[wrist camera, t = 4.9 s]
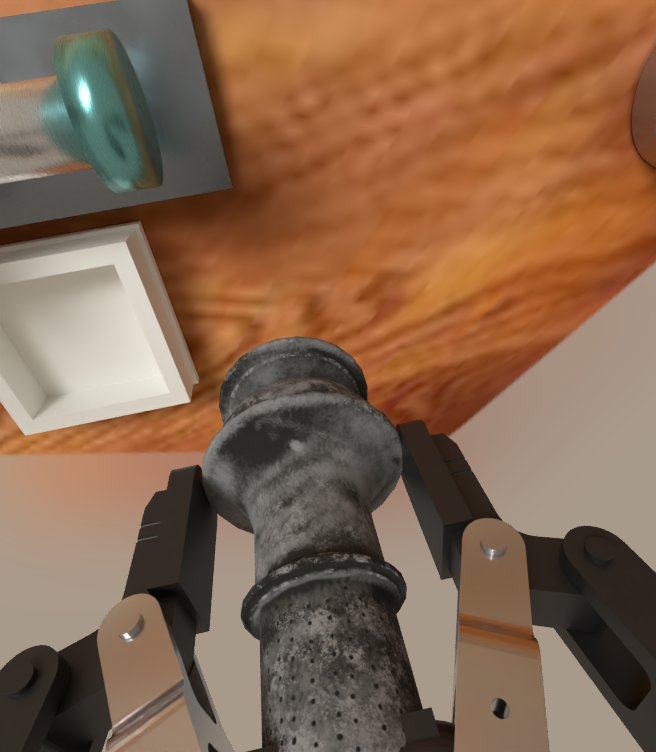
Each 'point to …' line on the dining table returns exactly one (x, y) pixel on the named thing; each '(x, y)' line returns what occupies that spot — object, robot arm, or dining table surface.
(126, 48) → the bearing block
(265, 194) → the dining table surface
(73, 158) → the shaft
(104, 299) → the holder
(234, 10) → the dining table surface
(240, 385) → the dark grey turned piece
